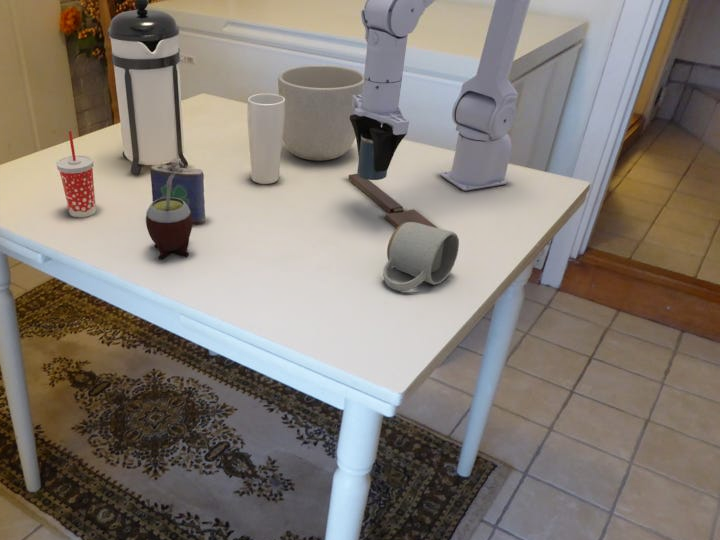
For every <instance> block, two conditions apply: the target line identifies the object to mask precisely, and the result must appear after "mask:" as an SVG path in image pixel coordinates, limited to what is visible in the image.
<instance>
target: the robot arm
mask: <svg viewBox="0 0 720 540" xmlns="http://www.w3.org/2000/svg"><path fill="white" fill-rule="evenodd" d="M434 2H436V0H366V1H365V3H364V8H363V9H362V10H360V18H361V21H362V25H363V27H364V29H365V36H364V40H365V42H366V43H367V44H366V54H365V65H364V73H363V74H364V83H363V93H362V94H360V95H353V98H352V108H354V109H355V110H354V113H355V114H354V115H350V121H351V123H352V126H353V128H354V132H355V136H356V138H355V140H356V149H357V154H358V155H357V156H359V152H360V142H361V134H362V133H363V132H366V131H370V133H371V136H372V140H373V145H374V170H375V171H376V172H380V171H387V172H388V169H389V167H390V166H391V162H392V160H393V157H394V155H395V153H396V151H397V149H398V147H399V145H400V143H401V142H402V141H403V140H404V138H405V137H406V136H407V135H408V132H409V131H408V130H409V125H410V124H409V123H410V120H408V119H407V118H406V117H405V116H404V114H403V112H402V111H401V109H400V107H399V105H400V98H401V97H400V96H401V90H402V89H401V88H402V81H403V75H404V74H403V73H404V67H405V59H406V51H407V44H408V36H409V34H412V33H413V32H414V31H415V29H416V27H417V26H418V23H419V21H420V18H421V17H422V16H423V14H424V12H425V11H426V9H427V8H428V7H430V6H431V5H432V4H433V3H434ZM530 4H531V0H495V2H494V5H493V9H492V13H491V17H490V21H489V25H488V28H487V32H486V36H485V39H484V43H483V48H482V51H481V55H480V59H479V63H478V67H477V70H476V74H475V76H472V77H471V78H469V79H468V80H466V81H465V82H463V83H462V86H461V89H460V92H459V95H458V97H457V98H456V100H455V101H454V104H453V107H452V111H451V117H452V121H453V123H454V124H455V125H456V127H455V131H457V132H458V135H457V140H456V145H455V150H454V156H453V161H452V167H451V171H445V172H444V171H443V172H440V176H441V177H442V178H444V179H445V180H447V181H448V182H450V183H451V184H453V185H454V186H456V187H457V188H459V189H460V190H462V191H473V190H478V189H484V188H491V187H496V186H501V185H506V184H507V183H508V181H507V180H506V174H507V170H508V166H509V162H510V158H511V154H512V140H511V137H510V135H509V134H508V133H509V132H510V130H511V129H512V128H513V125H514V123H515V122H516V117H517V101H518V97H519V93H518V91H517V90H516V88H515V87H514V85H513V83H512V82H511V81H510V79H509V77H510V73H511V71H512V67H513V62H514V60H515V59H514V58H515V56H516V53H517V50H518V49H517V48H518V46H519V42H520V38H521V34H522V31H523V28H524V24H525V21H526V17H527V14H528V10H529V6H530Z"/></svg>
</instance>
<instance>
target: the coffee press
mask: <svg viewBox="0 0 720 540" xmlns="http://www.w3.org/2000/svg"><path fill="white" fill-rule="evenodd" d="M134 5H135V7H136V8H137V9H133V10H127V11H123V12H120V13H118V14H116V15H115V16H114V17H113V18H112V19H111V21H110V24H109V28H107V35H108V38H109V39H110V45H111V51H110V55H111V64H112V66H113V71H114V79H115V88H116V90H115V91H116V98H117V105H118V115H119V124H120V132H121V141H122V149H123V151H122V157H123V158H125V159H128V160H129V161H130V162H132V163H131V166H130V174H132V175H136V176H140V174H141V172H142V170H143V167H144V166H154V165H160V164H161V163H163V165H164V164H165V165H167V164H169V163H171V162H170V160H171V159H176V158H179V159H181V161H180V162H179V164H180V168H189V162H188V161H187V159H186V157H185V155H184V152H185V142H184V141H185V139H184V138H185V137H184V123H183V122H184V121H183V104H182V103H183V102H182V89H181V88H182V86H181V70H180V61H181V49H180V48H179V35H180V26H179V25H177V21H176V19H175V18H174V16H172V15H171V14H169V13H168V12H165V11H162V10H157V9H147V7H148V5H149V1H148V0H134ZM176 160H178V159H176Z"/></svg>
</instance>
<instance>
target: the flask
mask: <svg viewBox="0 0 720 540" xmlns="http://www.w3.org/2000/svg"><path fill="white" fill-rule="evenodd" d="M176 159H177V160H176ZM176 159H171V160H170V163H171V164H169V165H167V164H163V163H161V164H160V165H151V167H150V171H149V172H150V182H151V183H150V184H151V197H152V202H154V201H155V200H157V199H160V198H166V197H167V188H166V184H167V181H168V179H169V177H170V176H171V175H172V174H173V173H175V176H174V178H173V179H172V187H171V191H170V197H174V198H178V199H181V200H183V201H184V202H185V203H186V204H187V205H188V207H189V209H190V211H191V216H192V220H193V225H202V224H204V223H205V221H206V208H205V202H206V201H205V187H204V185H205V183H204V181H205V180H204V179H205V174H204V171H203V170H202V169H201V168H189V167H186V168H180V164H179V162H180V163H181V162H182V161H181V159H180V158H176Z"/></svg>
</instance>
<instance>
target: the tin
mask: <svg viewBox="0 0 720 540" xmlns="http://www.w3.org/2000/svg"><path fill="white" fill-rule="evenodd" d="M356 174H358V176H359V177H361V178H363V179H367V180H369V181H381V180H383V179H385V178H386V177H387V175H388V170H387V171H380V172H376V171H375V170H374V145H373V140H372V136H371V133H370V131H366V132H363V133H362V134H361V142H360V152H359V155H358V163H357V172H356Z"/></svg>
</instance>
